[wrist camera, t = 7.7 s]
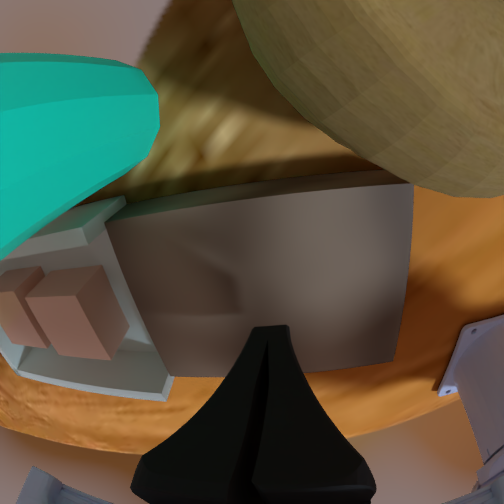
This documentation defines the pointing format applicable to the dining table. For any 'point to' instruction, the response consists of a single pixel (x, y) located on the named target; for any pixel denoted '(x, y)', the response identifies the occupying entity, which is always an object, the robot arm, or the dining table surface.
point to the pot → (394, 82)
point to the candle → (66, 134)
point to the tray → (137, 337)
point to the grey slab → (271, 268)
